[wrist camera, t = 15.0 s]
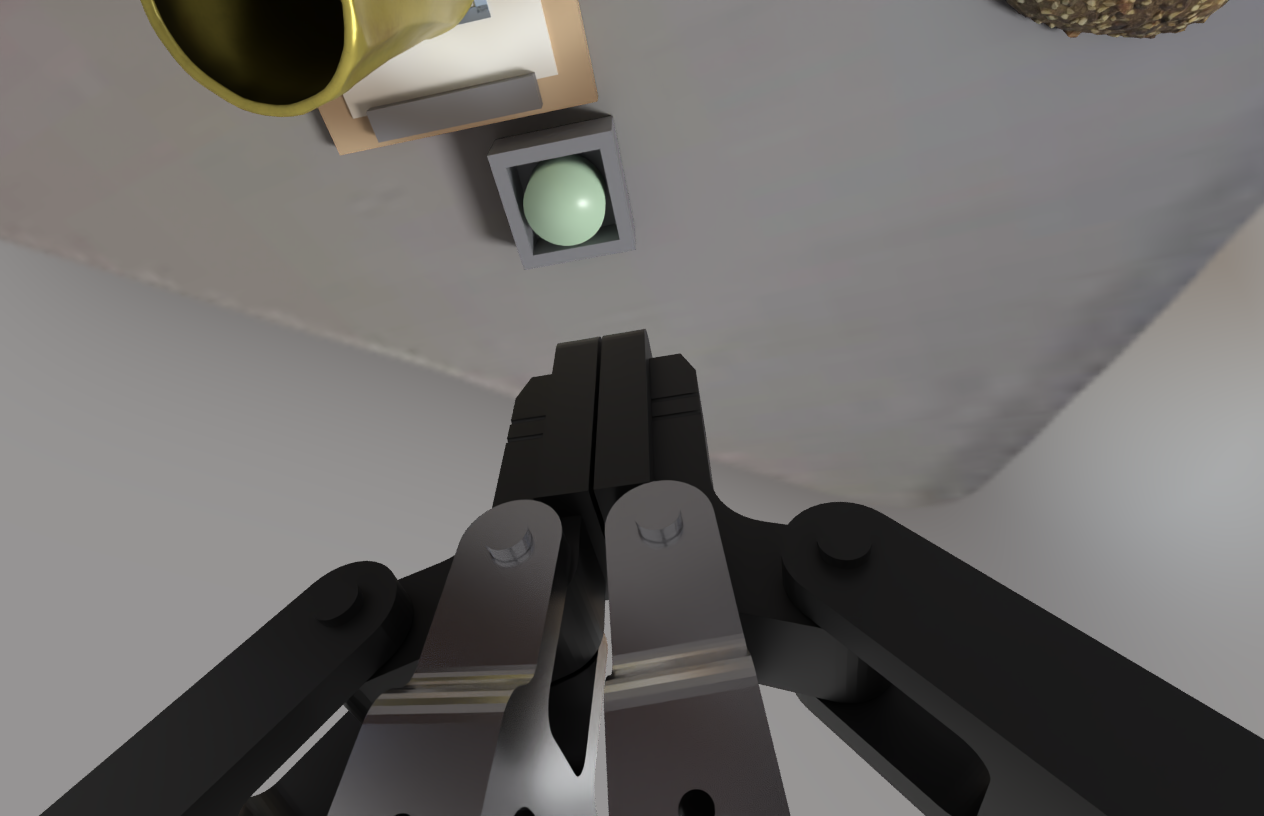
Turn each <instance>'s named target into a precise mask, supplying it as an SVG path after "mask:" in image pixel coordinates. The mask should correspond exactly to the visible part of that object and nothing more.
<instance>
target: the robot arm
mask: <svg viewBox="0 0 1264 816" xmlns="http://www.w3.org/2000/svg"><path fill="white" fill-rule="evenodd" d="M511 422H512V425H510V428H509V432H508V437H507V439H508V443H506V447H505V451H504V456H503V460H502V465H501V469H500V474H499V479H498V483H497V488H496V492H495V497H494V502H493V506H492V509H490V510H488V511H486V512H485V513H484V514H482V515H481V516H479V517H478V518H477V519H476V520H475V521H474V522H473V523H472V524H471V525H470V526H469V527H468V528H467V530H466V531H465V533H464V534H463V536H462V538H461V540H460V542H459V545H458V548H457V551H456V554H455V555H454V556H453V557H451V558H449V559H447V560H445V561H443V562H441V563H438V564H436V565H434V566H431V567H429V568H426V569H424V570H421V571H419V572H416V573H414V574H411V575H409V576H406V577H404V578H401V579H399V580H397V578H396V577H395V576H394V574H393V573H392V571H391V570H390V569H389V568H388V567H386V566H385V565H383V564H381V563H377V562H372V561H361V562H354V563H350V564H347V565H344V566H341V567H339V568H337V569H335V570H333V571H331V572H329V573H327V574H326V575H324V576H323V577H321V578H320V579H319V580H317V581H316V582H315V583H313V584H312V585H311V586H310V587H309V588H308V589H306V590H305V591H304V592H303V593H302V594H300V595H299V596H298V597H297V598H296V599H294V600H293V601H292V602H291V603H290V604H289V605H287V606H286V607H285V608H284V609H283V610H281V611H280V612H279V613H278V614H277V615H276V616H274V617H273V618H272V619H271V620H270V621H268V622H267V623H266V624H265V625H264V626H263V627H261V628H260V629H259V630H258V631H257V632H256V633H254V634H253V635H252V636H251V637H250V638H249V639H247V640H246V641H245V642H244V643H243V644H242V645H240V646H239V647H238V648H237V649H236V650H234V651H233V652H232V653H231V654H230V655H228V656H227V657H226V658H225V659H224V660H223V661H221V662H220V663H219V664H218V665H217V666H215V667H214V668H213V669H212V670H211V671H210V672H208V673H207V674H206V675H205V676H204V677H202V678H201V679H200V680H199V681H198V682H196V683H195V684H194V685H193V686H192V687H191V688H189V689H188V690H187V691H186V692H185V693H183V694H182V695H181V696H180V697H179V698H178V699H176V700H175V701H174V702H173V703H172V704H171V705H169V706H168V707H167V708H166V709H165V710H163V711H162V712H161V713H160V714H159V715H157V716H156V717H155V718H154V719H153V720H152V721H150V722H149V723H148V724H147V725H146V726H144V727H143V728H142V729H141V730H140V731H139V732H137V733H136V734H135V735H134V736H133V737H132V738H130V739H129V740H128V741H127V742H126V743H124V744H123V745H122V746H121V747H120V748H119V749H117V750H116V751H115V752H114V753H113V754H111V755H110V756H109V757H108V758H107V759H105V760H104V761H103V762H102V763H101V764H100V765H99V766H97V767H96V768H95V769H94V770H93V771H91V772H90V773H89V774H88V775H87V776H85V777H84V778H83V779H82V780H81V781H80V782H78V783H77V784H76V785H75V786H74V787H72V788H71V789H70V790H69V791H68V792H67V793H65V794H64V795H63V796H62V797H61V798H60V799H58V800H57V801H56V802H55V803H54V804H52V805H51V806H50V807H49V808H48V809H47V810H45V811H44V812H43V813H42V814H41V815H39V816H597V811H596V805H595V796H594V778H595V767H596V758H597V748H598V738H599V729H600V720H601V710H602V701H603V692H604V719H605V742H606V764H607V787H608V808H609V816H790V812H789V807H788V803H787V799H786V795H785V791H784V788H783V783H782V779H781V775H780V770H779V766H778V762H777V758H776V754H775V750H774V746H773V742H772V738H771V733H770V730H769V725H768V721H767V717H766V713H765V708H764V704H763V700H762V696H761V693H760V688H759V684H762V685H766V686H770V687H774V688H778V689H783V690H787V691H791V692H795V693H796V695H797V696H798V698H799V699H800V701H801V702H802V703H803V704H804V705H805V706H806V707H807V708H808V709H809V710H810V711H811V712H812V713H813V714H814V715H815V716H816V717H818V718H819V719H820V720H821V721H822V722H823V723H824V724H825V725H826V726H827V727H829V728H830V729H831V730H832V731H833V732H834V733H835V734H836V735H837V736H839V737H840V738H841V739H842V740H843V741H844V742H845V743H846V744H847V745H848V746H849V747H851V748H852V749H853V750H854V751H855V752H856V753H857V754H858V755H859V756H860V757H862V758H863V759H864V760H865V761H866V762H867V763H868V764H869V765H870V766H871V767H873V768H874V769H875V770H876V771H877V772H878V773H879V774H881V776H882V777H884V778H885V779H886V780H887V781H888V782H889V783H890V784H891V785H893V787H895V788H896V789H897V790H898V791H899V792H900V793H901V794H902V795H903V796H905V797H906V798H907V799H908V800H909V801H910V802H911V803H912V804H913V805H914V806H915V807H917V808H918V809H919V810H920V811H921V812H922V813H923V814H924V815H925V816H1264V739H1262V738H1260V737H1259V736H1257V735H1256V734H1254V733H1252V732H1251V731H1249V730H1247V729H1245V728H1244V727H1242V726H1240V725H1239V724H1237V723H1235V722H1234V721H1232V720H1230V719H1229V718H1227V717H1225V716H1223V715H1222V714H1220V713H1218V712H1217V711H1215V710H1213V709H1212V708H1210V707H1208V706H1207V705H1205V704H1203V703H1202V702H1200V701H1198V700H1196V699H1195V698H1193V697H1191V696H1190V695H1188V694H1186V693H1185V692H1183V691H1181V690H1180V689H1178V688H1176V687H1174V686H1173V685H1171V684H1169V683H1168V682H1166V681H1164V680H1163V679H1161V678H1159V677H1158V676H1156V675H1154V674H1153V673H1151V672H1149V671H1147V670H1146V669H1144V668H1142V667H1141V666H1139V665H1137V664H1136V663H1134V662H1132V661H1130V660H1129V659H1127V658H1126V657H1124V656H1122V655H1120V654H1119V653H1117V652H1115V651H1114V650H1112V649H1110V648H1109V647H1107V646H1105V645H1104V644H1102V643H1100V642H1099V641H1097V640H1095V639H1093V638H1092V637H1090V636H1088V635H1087V634H1085V633H1083V632H1082V631H1080V630H1078V629H1077V628H1075V627H1073V626H1072V625H1070V624H1068V623H1066V622H1065V621H1063V620H1061V619H1060V618H1058V617H1056V616H1055V615H1053V614H1051V613H1050V612H1048V611H1046V610H1045V609H1043V608H1041V607H1039V606H1038V605H1036V604H1034V603H1032V602H1031V601H1029V600H1028V599H1026V598H1024V597H1023V596H1021V595H1019V594H1017V593H1016V592H1014V591H1012V590H1011V589H1009V588H1007V587H1006V586H1004V585H1002V584H1000V583H999V582H997V581H995V580H994V579H992V578H990V577H988V576H987V575H985V574H984V573H982V572H980V571H978V570H977V569H975V568H973V567H972V566H970V565H969V564H967V563H965V562H963V561H961V560H960V559H958V558H957V557H955V556H953V555H952V554H950V553H948V552H947V551H945V550H943V549H941V548H940V547H938V546H936V545H935V544H933V543H931V542H930V541H928V540H926V539H925V538H923V537H921V536H920V535H918V534H916V533H914V532H913V531H911V530H909V529H908V528H906V527H904V526H903V525H901V524H899V523H898V522H896V521H894V520H892V519H891V518H889V517H887V516H886V515H884V514H882V513H880V512H878V511H876V510H874V509H872V508H869V507H867V506H864V505H860V504H855V503H848V502H830V503H824V504H819V505H817V506H813V507H810V508H809V509H806V510H804V511H803V512H801V513H800V514H798V515H797V516H796V517H795V518H793V520H792V521H791V522H790V523H789V524H788V525H785V524H778V523H770V522H764V521H759V520H754V519H750V518H747V517H744V516H742V515H740V514H738V513H736V512H734V511H733V510H731V509H730V508H728V507H727V506H726V505H725V504H723V502H721V501H720V499H719V498H718V496H717V495H716V494H715V492H714V489H713V482H712V474H711V467H710V460H709V453H708V446H707V439H706V432H705V426H704V420H703V413H702V407H701V401H700V395H699V388H698V382H697V376H696V370H695V369H694V368H693V367H692V366H691V365H690V363H689V362H688V361H687V360H686V359H685V358H684V357H683V356H682V355H681V354H674V355H668V356H662V357H656V358H652V353H651V349H650V344H649V339H648V335H647V332H646V329H642V330H636V331H630V332H624V333H618V334H612V335H606V336H603V337H602V338H601V337H595V338H589V339H583V340H577V341H571V342H564V343H558V344H557V347H556V352H555V359H554V365H553V371H552V374H550V375H544V376H537V377H532V378H531V379H530V381H529V382H528V383H527V384H526V386H525V387H524V388H523V390H522V391H521V392H520V394H519V395H518V396H517V398H516V400H515V405H514V409H513V414H512V419H511ZM605 600H609V610H610V626H611V643H612V663H613V665H612V674H611V675H609V676H607V677H606V680H605V673H606V663H607V654H608V644H607V639H606V636H605V634H604V617H605ZM604 682H605V686H604ZM342 705H344V706H345V707H346V708H347V709H348V710H349V711H348V712H347V713H346V714H345V715H344V716H343V717H342V718H341V719H340V720H339V721H338V722H337V723H336V724H335V725H334V726H333V727H332V728H331V729H330V730H329V731H328V732H327V733H326V734H325V735H324V736H323V737H322V738H321V739H320V740H319V741H318V742H317V743H316V744H315V745H314V746H313V747H312V748H311V749H310V750H309V751H308V752H307V753H306V754H305V755H304V756H303V757H302V758H301V759H300V760H299V761H298V762H297V763H296V764H295V765H294V766H293V767H292V768H291V769H290V770H289V771H288V772H287V773H286V774H285V775H284V776H283V777H282V778H281V779H280V780H279V781H278V782H277V783H276V784H275V785H274V786H272V787H271V788H270V789H268V790H266V791H265V792H263V793H261V794H259V795H256V796H253V797H251V795H252V794H253V793H254V792H255V791H256V790H257V789H258V788H259V787H260V786H261V785H262V784H263V783H264V782H265V781H266V780H267V779H268V778H269V777H270V776H271V775H272V774H273V773H274V772H275V771H276V770H277V769H278V768H280V767H281V765H283V764H284V762H286V761H287V759H288V758H290V757H291V756H292V755H293V754H294V753H295V752H296V751H297V750H298V749H299V748H300V747H301V746H302V744H304V743H305V742H306V741H307V740H308V739H309V738H310V737H311V736H312V735H313V734H314V733H315V732H316V731H317V730H318V729H319V728H320V727H321V726H322V725H323V724H324V723H325V722H326V721H327V720H328V719H329V718H330V717H331V716H332V715H333V714H334V713H335V712H336V711H337V710H338V709H339V708H340V707H341V706H342Z"/></svg>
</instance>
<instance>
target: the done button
mask: <svg viewBox="0 0 1264 816" xmlns="http://www.w3.org/2000/svg"><path fill="white" fill-rule="evenodd" d="M605 204H606V187H605V183H604V179H603V177H602V175H601V173H600V172H599V170H598V169H597V168H596V167H595V166H594V165H593V164H592V163H591V162H590V161H589V160H587V159H585V158H584V157H582V156H579V155H576V154H572V155H567V156H562V157H557V158H552V159H547V160H542V161H541V162H540V163H539V164H538V165H537V166H536V167H535V169H534V170H533V172H532V174H531V176H530V179H529V182H528V185H527V188H526V191H525V194H524V200H523V207H524V213H525V216H526V219H527V221H528V223H529V225H530V226H531V228H532V229H533V230H534V231H535V233H536V234H538V235H539V236H540V237H541V238H543V239H544V240H546V241H548V242H550V243H553V244H557V245H562V246H571V245H577V244H580V243H583V242H585V241H587V240H588V239H590V238H591V237H592V236H593V235H595V234H596V232H597V231H598V230H599V228H600V226H601V225H602V222H603V219H604V215H605Z"/></svg>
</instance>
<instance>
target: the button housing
mask: <svg viewBox="0 0 1264 816" xmlns="http://www.w3.org/2000/svg"><path fill="white" fill-rule="evenodd" d="M572 154H576V155H579V156H582V157H584V158H585V159H587V160H589V161H590V162H591V163H592V164H593V165H594V166H595V167H596V168H597V169H598V170H599V172H600V173H601V175H602V177H603V179H604V183H605V187H606V204H605V215H604V219H603V222H602V225H601V226H600V228H599V230H598V231H597V232H596V234H595V235H593V236H592V237H591V238H590V239H588V240H587V241H585V242H583V243H580V244H577V245H571V246H562V245H557V244H553V243H550V242H548V241H546V240H544V239H543V238H541V237H540V236H539V235H538V234H536V233H535V231H534V230H533V229H532V228H531V226H530V225H529V223H528V221H527V219H526V216H525V213H524V207H523V200H524V194H525V191H526V188H527V185H528V182H529V179H530V176H531V174H532V172H533V170H534V169H535V167H536V166H537V165H538V164H539V163H540V162H541V161H542V160H547V159H552V158H557V157H562V156H567V155H572ZM487 158H488V161H489V164H490V167H491V170H492V173H493V176H494V179H495V182H496V185H497V188H498V191H499V194H500V197H501V201H502V204H503V207H504V210H505V213H506V216H507V219H508V222H509V225H510V228H511V231H512V234H513V237H514V240H515V244H516V247H517V250H518V253H519V256H520V259H521V262H522V265H523V268H524V270H527V269H532V268H538V267H543V266H549V265H554V264H560V263H565V262H571V261H576V260H582V259H587V258H593V257H598V256H604V255H609V254H615V253H621V252H626V251H632V250H636V238H635V226H634V221H633V216H632V211H631V206H630V200H629V195H628V190H627V185H626V180H625V175H624V170H623V165H622V160H621V155H620V150H619V145H618V140H617V135H616V130H615V125H614V120H613V116H608V117H603V118H599V119H594V120H589V121H584V122H579V123H574V124H569V125H565V126H560V127H555V128H550V129H545V130H540V131H536V132H531V133H526V134H521V135H516V136H511V137H506V138H502V139H497V140H495V142H494V144H493V145H492V147H491V149H490V151H489V153H488V155H487Z"/></svg>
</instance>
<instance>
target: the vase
mask: <svg viewBox="0 0 1264 816" xmlns="http://www.w3.org/2000/svg"><path fill="white" fill-rule="evenodd" d="M140 1H141V3H142V6H143V8H144V11H145V13H146V15H147V17H148V19H149V22H150V24H151V26H152V27H153V29H154V31H155V32H156V34H157V36H158V37H159V39H160V40H161V41H162V43H163V44H164V46H165V47H166V48H167V50H168V51H169V52H170V54H171V55H172V56H173V58H174V59H175V60H176V61H177V62H178V64H179V65H180V66H181V67H182V68H183V69H184V70H185V71H186V72H187V73H188V74H189V75H190V76H191V77H192V78H193V79H195V80H196V81H197V82H198V83H200V84H201V85H202V86H204V87H205V88H207V89H209V90H210V91H212V92H213V93H215V94H216V95H218V96H219V97H221V98H222V99H224V100H225V101H227V102H229V103H231V104H233V105H235V106H237V107H239V108H240V109H243V110H246V111H249V112H252V113H256V114H261V115H266V116H276V117H290V116H298V115H303V114H306V113H308V112H310V111H312V110H314V109H316V108H318V107H320V106H322V105H324V104H326V103H328V102H330V101H332V100H335V99H337V98H338V97H340V96H341V95H343V94H344V93H346V92H347V91H349V90H350V89H351V88H352V87H353V86H355V85H356V84H357V83H358V82H360V81H361V80H362V79H364V78H365V77H367V76H368V75H369V74H371V73H372V72H373V71H375V70H376V69H377V68H379V67H380V66H382V65H383V64H384V63H386V62H387V61H389V60H390V59H392V58H394V57H396V56H397V55H399V54H401V53H403V52H405V51H407V50H409V49H410V48H412V47H414V46H415V45H417V44H419V43H420V42H422V41H423V40H427V39H432V38H434V37H437V36H439V35H442V34H444V33H446V32H448V31H449V30H451V29H453V28H454V27H455V26H456V25H457V24H459V22H460V21H461V20H462V19H463V18H464V16H465V15H466V13H467V12H468V10H469V8H470V7H471V5H472V3H473V1H474V0H140Z"/></svg>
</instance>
